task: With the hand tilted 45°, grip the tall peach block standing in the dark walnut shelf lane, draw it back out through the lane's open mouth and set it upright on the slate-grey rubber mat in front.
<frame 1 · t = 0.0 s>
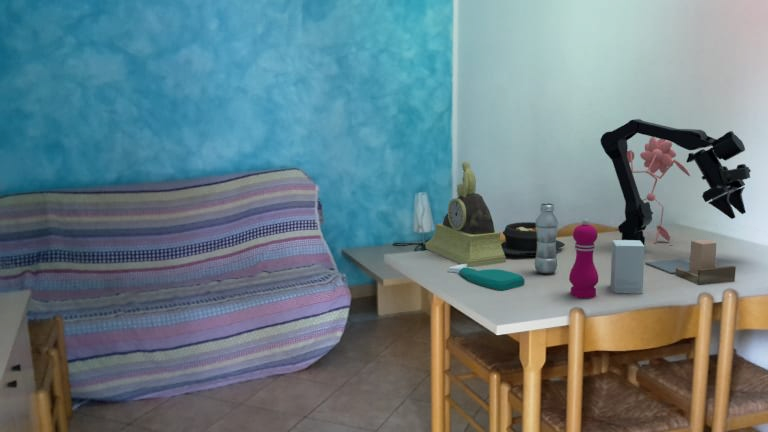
hand: (738, 215, 203), 15 cm above the table, tool tilted 35°, fingers open, 9 cm apart
slate rubber mat: (675, 267, 205), on the table
pink artificial flower: (654, 239, 242), on the table
pepper mill: (583, 295, 181), on the table
decorative clock: (463, 256, 225), on the table
casserole: (528, 252, 228), on the table
walnut shelf lane: (701, 276, 195), on the table
peach block: (701, 277, 195), on the table
spray bottle: (482, 280, 198), on the table
plastic bottle: (545, 273, 203), on the table
supplement box: (626, 290, 185), on the table
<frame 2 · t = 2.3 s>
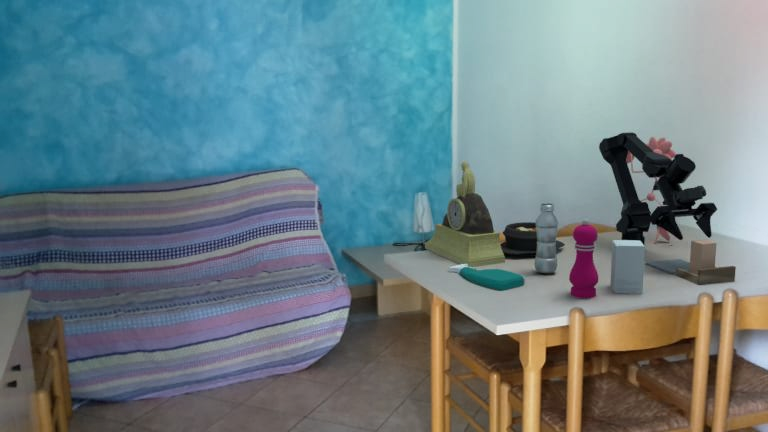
hand: (696, 238, 196), 10 cm above the table, tool tilted 45°, fingers open, 9 cm apart
nothing on the table moved.
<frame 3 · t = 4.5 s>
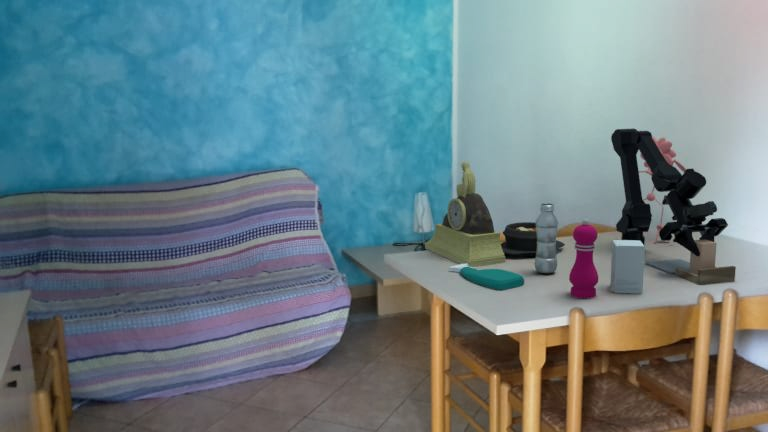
hand: (706, 254, 192), 7 cm above the table, tool tilted 45°, fingers closed on peach block, 4 cm apart
peach block: (701, 276, 195), on the table, touching gripper
everything else where it was.
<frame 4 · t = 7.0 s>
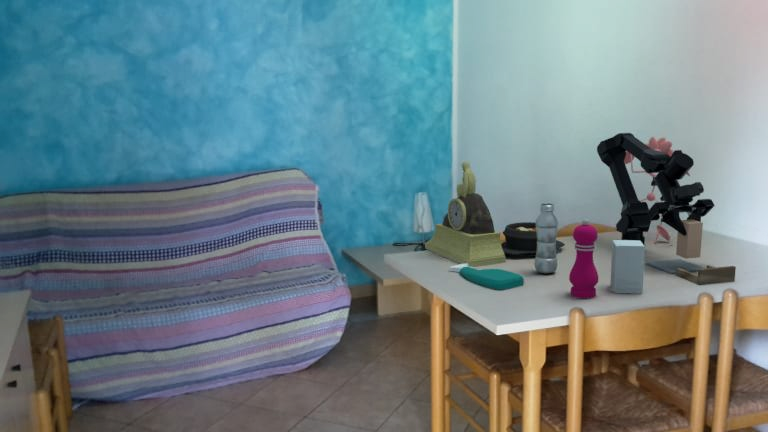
hand: (692, 234, 197), 11 cm above the table, tool tilted 45°, fingers closed on peach block, 4 cm apart
peach block: (688, 255, 200), point 5 cm above the table, touching gripper
everything else where it was.
when the fingers open (8 cm above the table, at t = 9.4 s): peach block stays where it is, resting on slate rubber mat.
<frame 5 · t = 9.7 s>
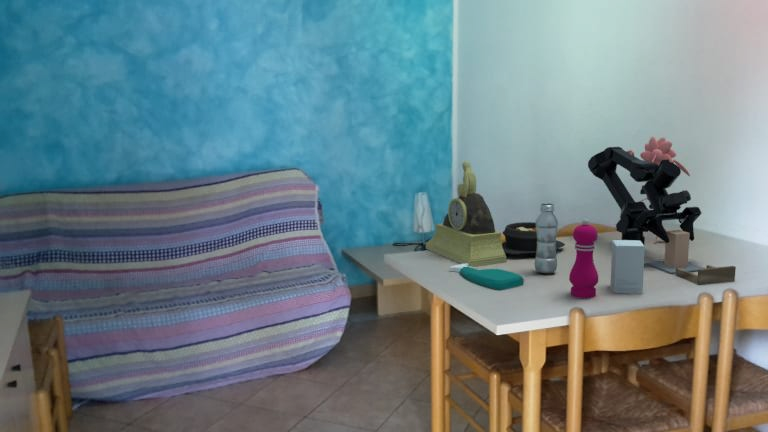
hand: (680, 241, 203), 8 cm above the table, tool tilted 45°, fingers open, 8 cm apart
peach block: (675, 265, 205), resting on slate rubber mat
everything else where it was.
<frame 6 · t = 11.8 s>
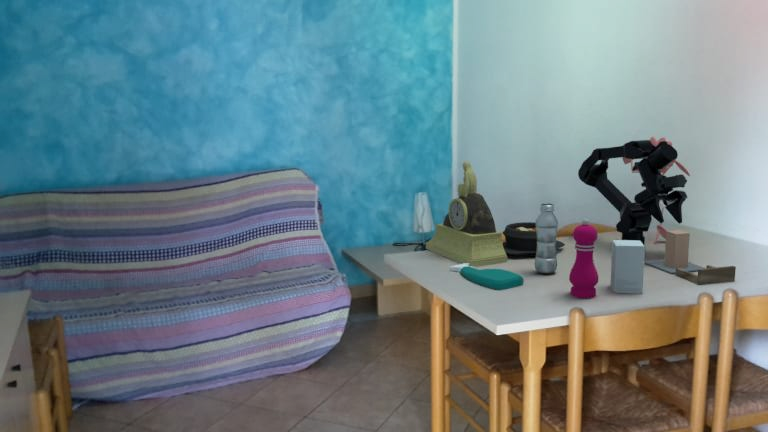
hand: (671, 222, 209), 12 cm above the table, tool tilted 35°, fingers open, 9 cm apart
nothing on the table moved.
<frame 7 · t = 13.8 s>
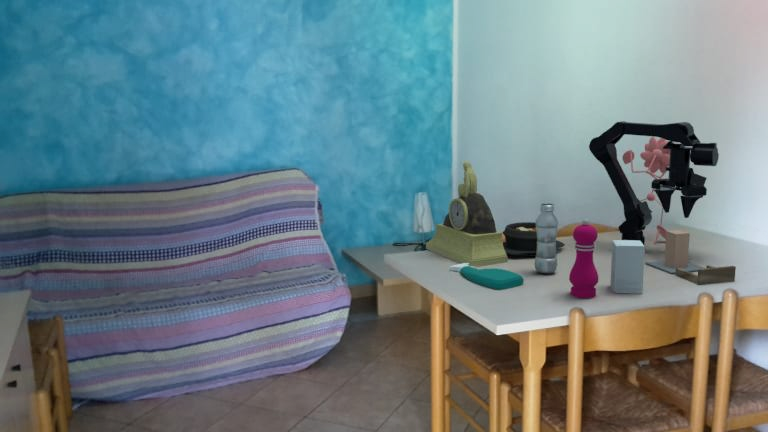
hand: (676, 215, 215), 13 cm above the table, tool pointing down, fingers open, 9 cm apart
nothing on the table moved.
at the end: peach block inside the target area on the slate rubber mat (0.0 cm from its centre), point 0.5 cm above the slate rubber mat's base; peach block tilted 0°; the gripper is holding nothing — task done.
